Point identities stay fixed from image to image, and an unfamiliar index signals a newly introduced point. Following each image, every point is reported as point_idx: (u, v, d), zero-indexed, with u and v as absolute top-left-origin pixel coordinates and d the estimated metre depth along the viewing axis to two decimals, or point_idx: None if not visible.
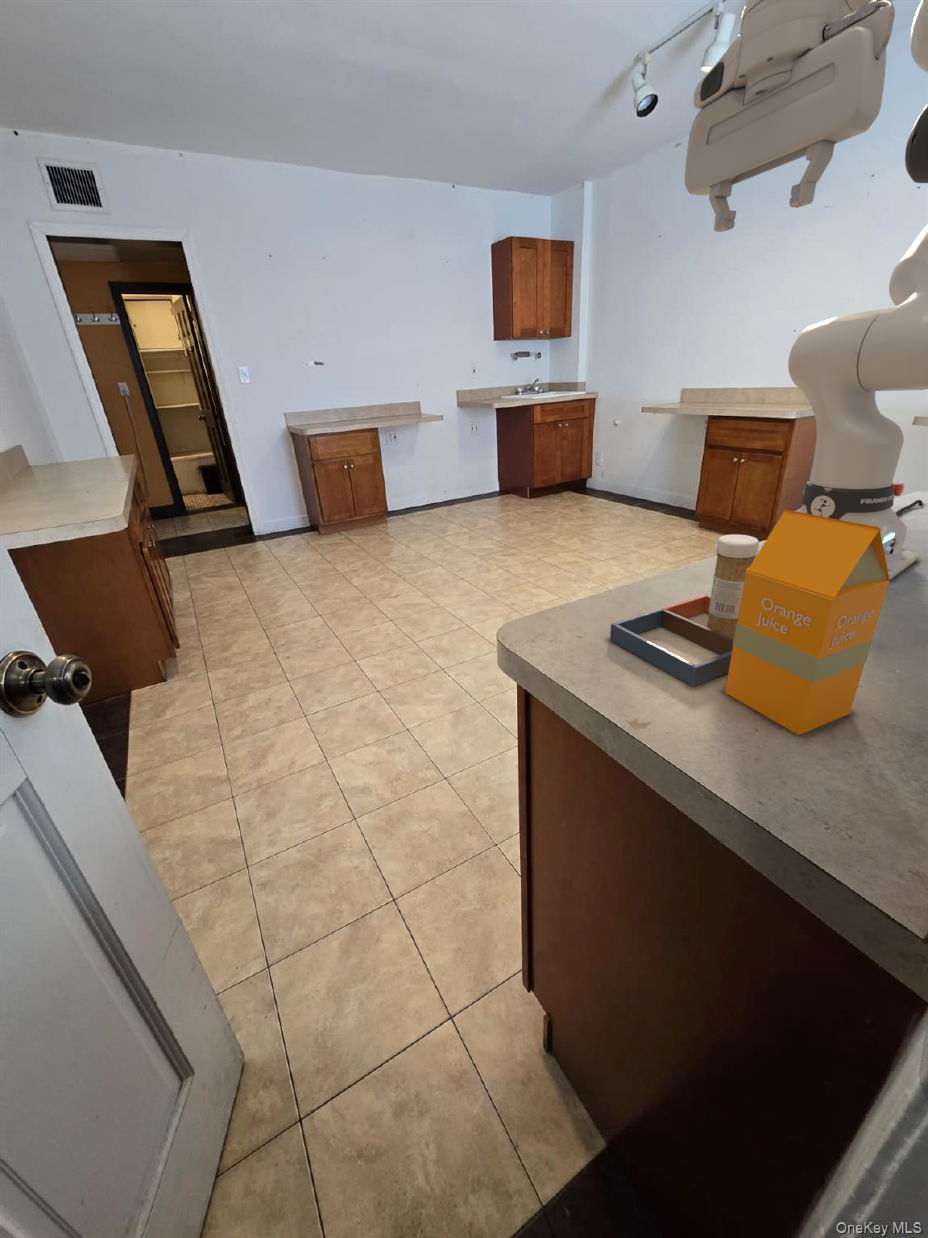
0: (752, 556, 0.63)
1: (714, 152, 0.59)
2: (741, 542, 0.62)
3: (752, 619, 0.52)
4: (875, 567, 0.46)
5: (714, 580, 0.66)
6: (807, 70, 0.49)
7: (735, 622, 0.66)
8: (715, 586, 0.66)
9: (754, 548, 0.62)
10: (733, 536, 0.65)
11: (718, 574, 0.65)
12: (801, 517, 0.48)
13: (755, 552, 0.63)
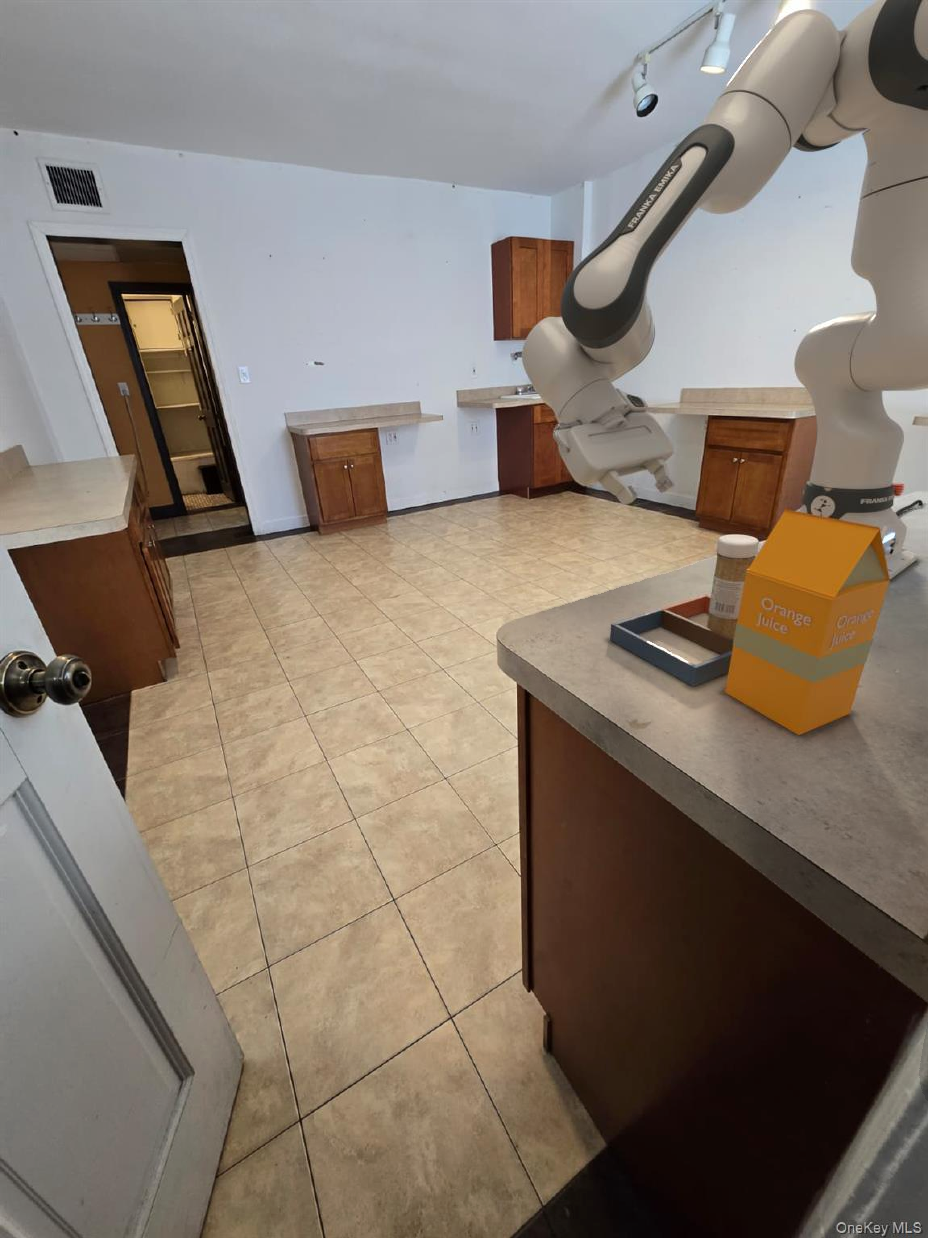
0: (752, 556, 0.63)
1: None
2: (741, 542, 0.62)
3: (752, 619, 0.52)
4: (875, 567, 0.46)
5: (714, 580, 0.66)
6: None
7: (735, 622, 0.66)
8: (715, 586, 0.66)
9: (754, 548, 0.62)
10: (733, 536, 0.65)
11: (718, 574, 0.65)
12: (801, 517, 0.48)
13: (755, 552, 0.63)
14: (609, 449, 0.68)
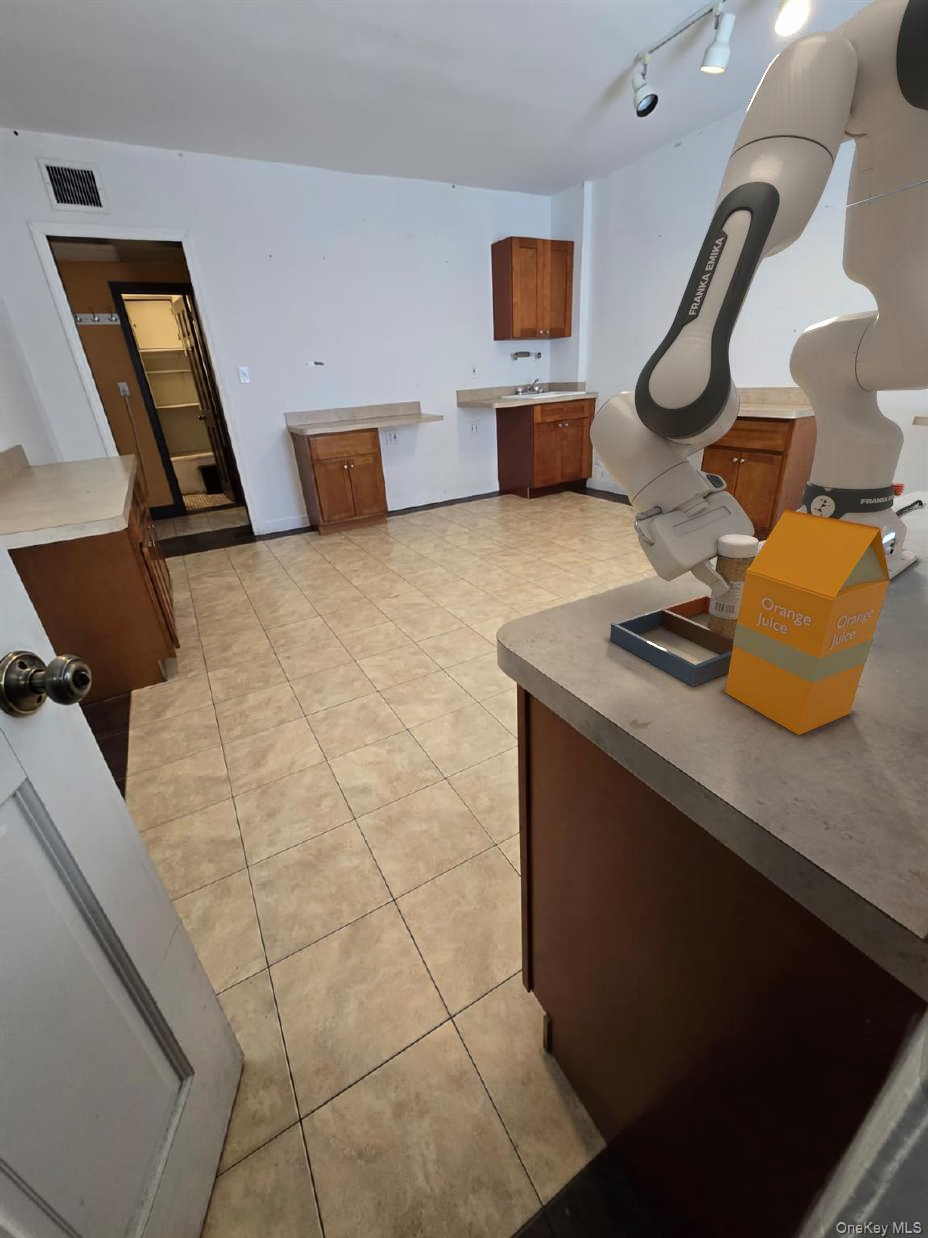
0: (752, 556, 0.63)
1: None
2: (741, 542, 0.62)
3: (752, 619, 0.52)
4: (876, 567, 0.46)
5: None
6: None
7: (735, 622, 0.66)
8: None
9: (754, 549, 0.62)
10: (733, 536, 0.65)
11: None
12: (801, 517, 0.48)
13: (755, 552, 0.63)
14: (695, 541, 0.63)
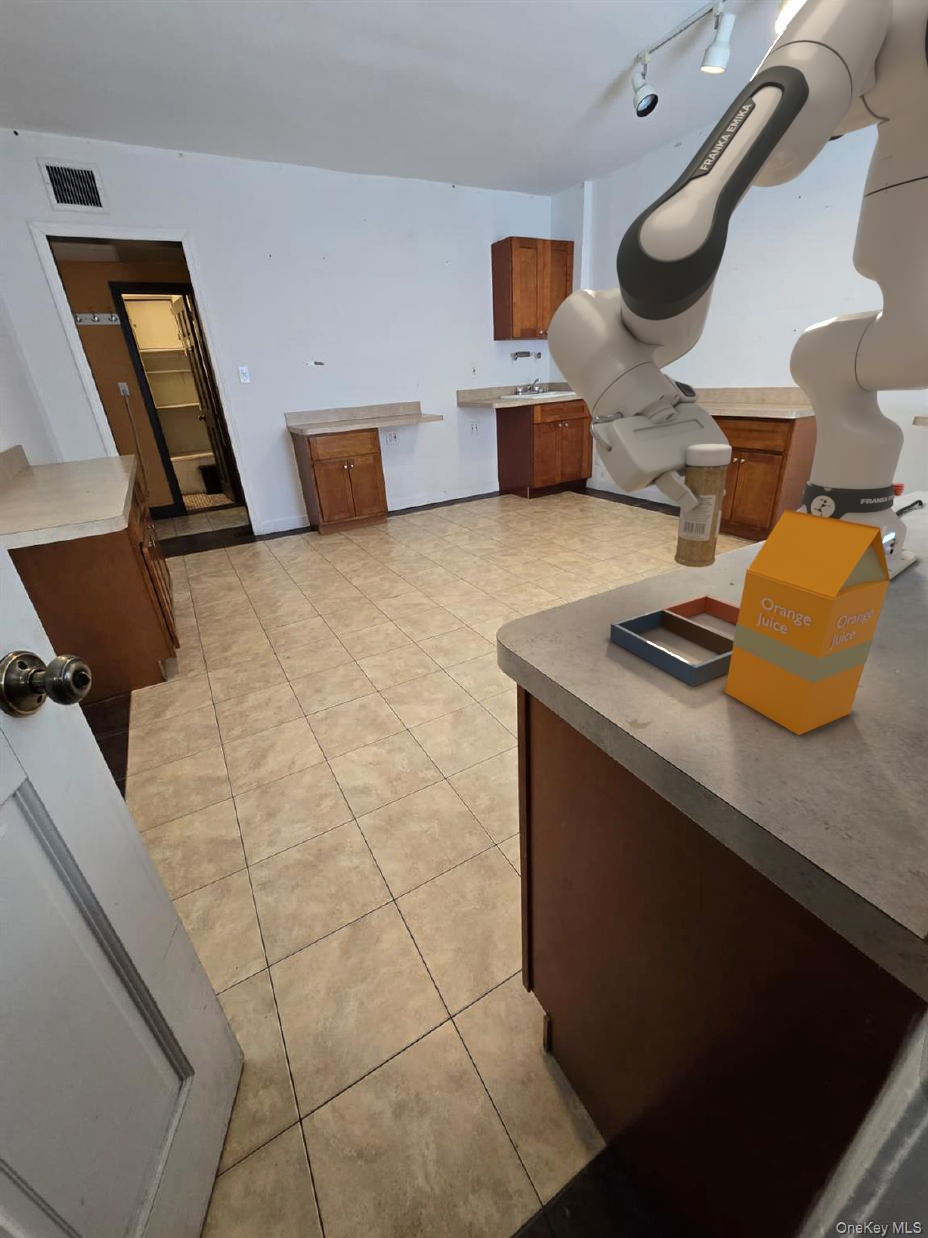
0: (724, 464, 0.55)
1: None
2: (711, 447, 0.54)
3: (752, 619, 0.52)
4: (876, 567, 0.46)
5: None
6: None
7: (706, 544, 0.59)
8: None
9: (727, 455, 0.55)
10: (703, 444, 0.57)
11: None
12: (801, 517, 0.48)
13: (727, 459, 0.55)
14: (659, 448, 0.56)
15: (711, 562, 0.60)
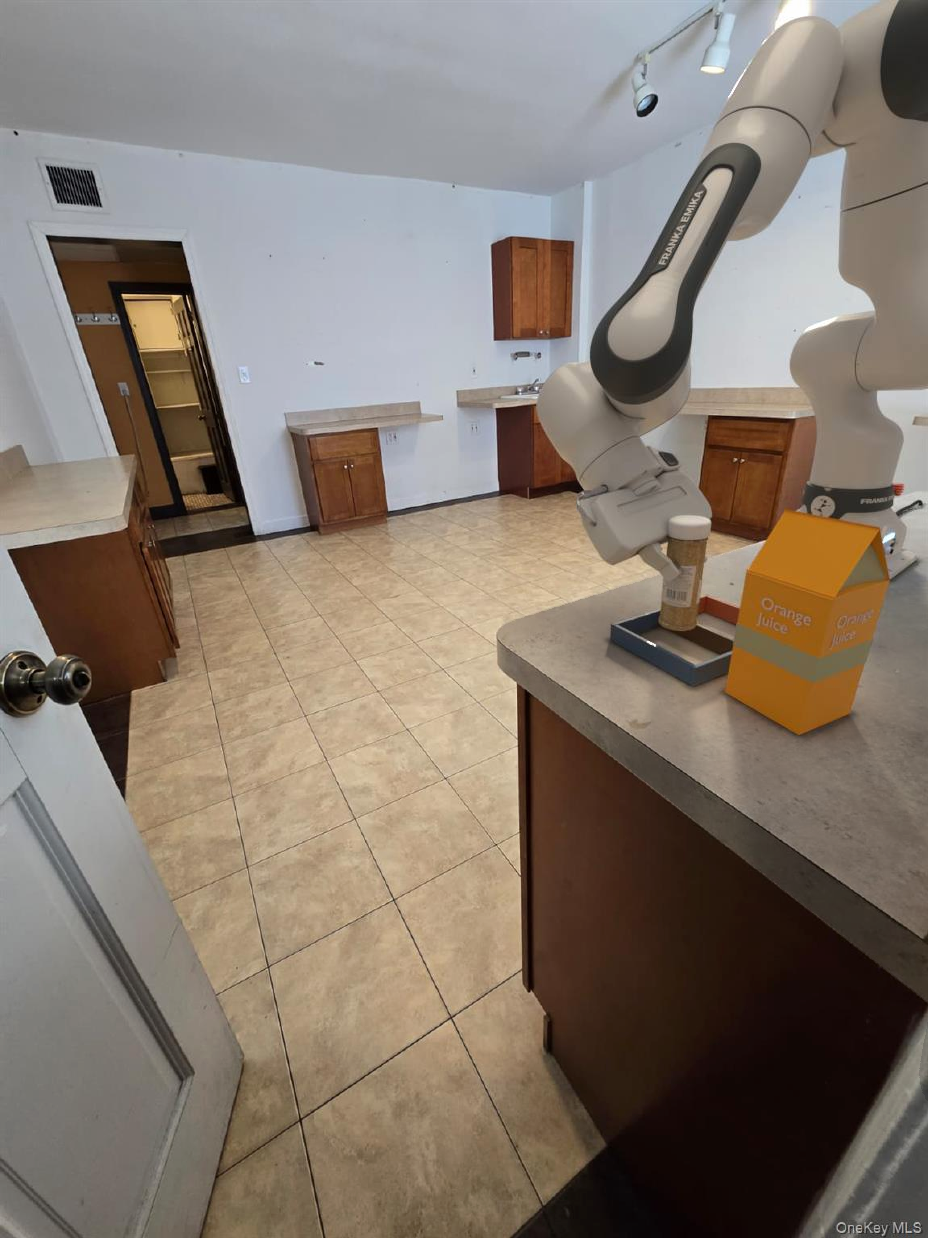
0: (704, 538, 0.58)
1: None
2: (691, 523, 0.57)
3: (752, 619, 0.52)
4: (876, 567, 0.46)
5: None
6: None
7: (688, 610, 0.61)
8: None
9: (706, 530, 0.57)
10: (685, 517, 0.60)
11: (669, 558, 0.60)
12: (801, 517, 0.48)
13: (707, 534, 0.58)
14: (642, 522, 0.58)
15: (693, 626, 0.62)
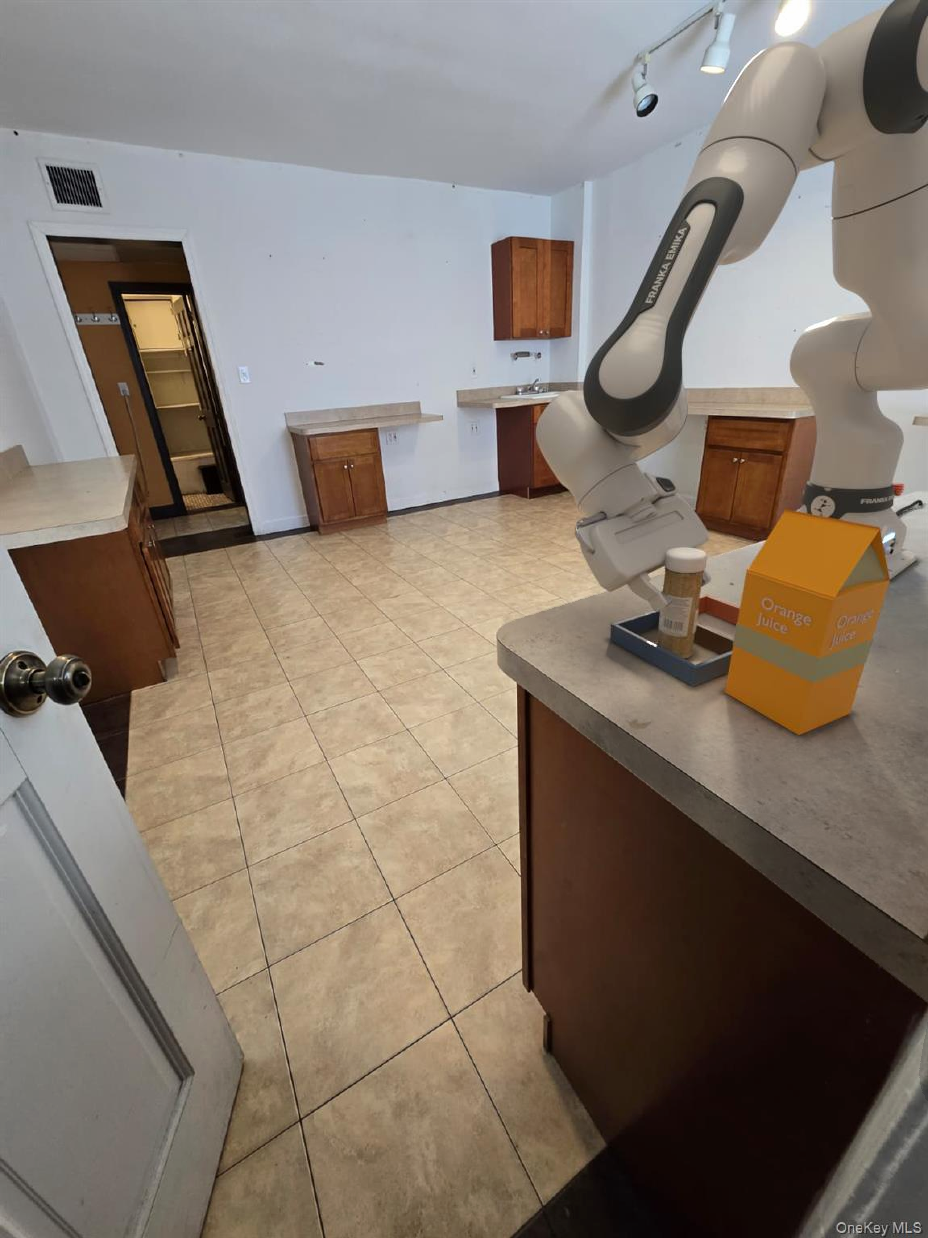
0: (699, 571, 0.59)
1: None
2: (687, 556, 0.59)
3: (752, 619, 0.52)
4: (875, 567, 0.46)
5: None
6: None
7: (684, 640, 0.63)
8: None
9: (702, 563, 0.59)
10: (681, 549, 0.61)
11: (666, 589, 0.62)
12: (801, 517, 0.48)
13: (703, 567, 0.59)
14: (639, 549, 0.60)
15: (689, 655, 0.64)
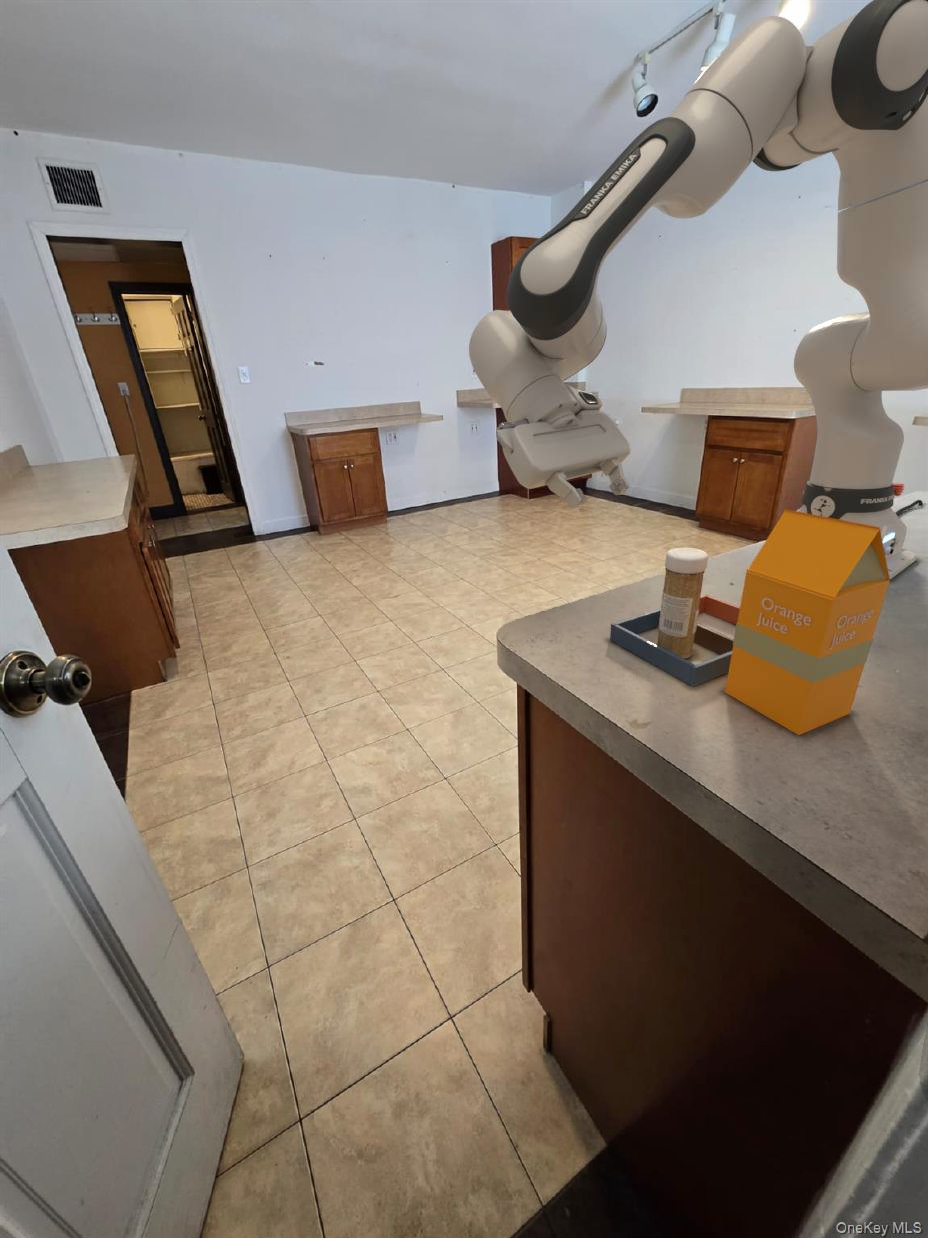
0: (700, 572, 0.59)
1: None
2: (688, 557, 0.59)
3: (752, 619, 0.52)
4: (875, 567, 0.46)
5: (663, 595, 0.63)
6: None
7: (684, 640, 0.63)
8: (664, 602, 0.62)
9: (702, 564, 0.59)
10: (682, 549, 0.61)
11: (666, 589, 0.62)
12: (801, 517, 0.48)
13: (703, 567, 0.59)
14: (556, 450, 0.64)
15: (689, 655, 0.64)
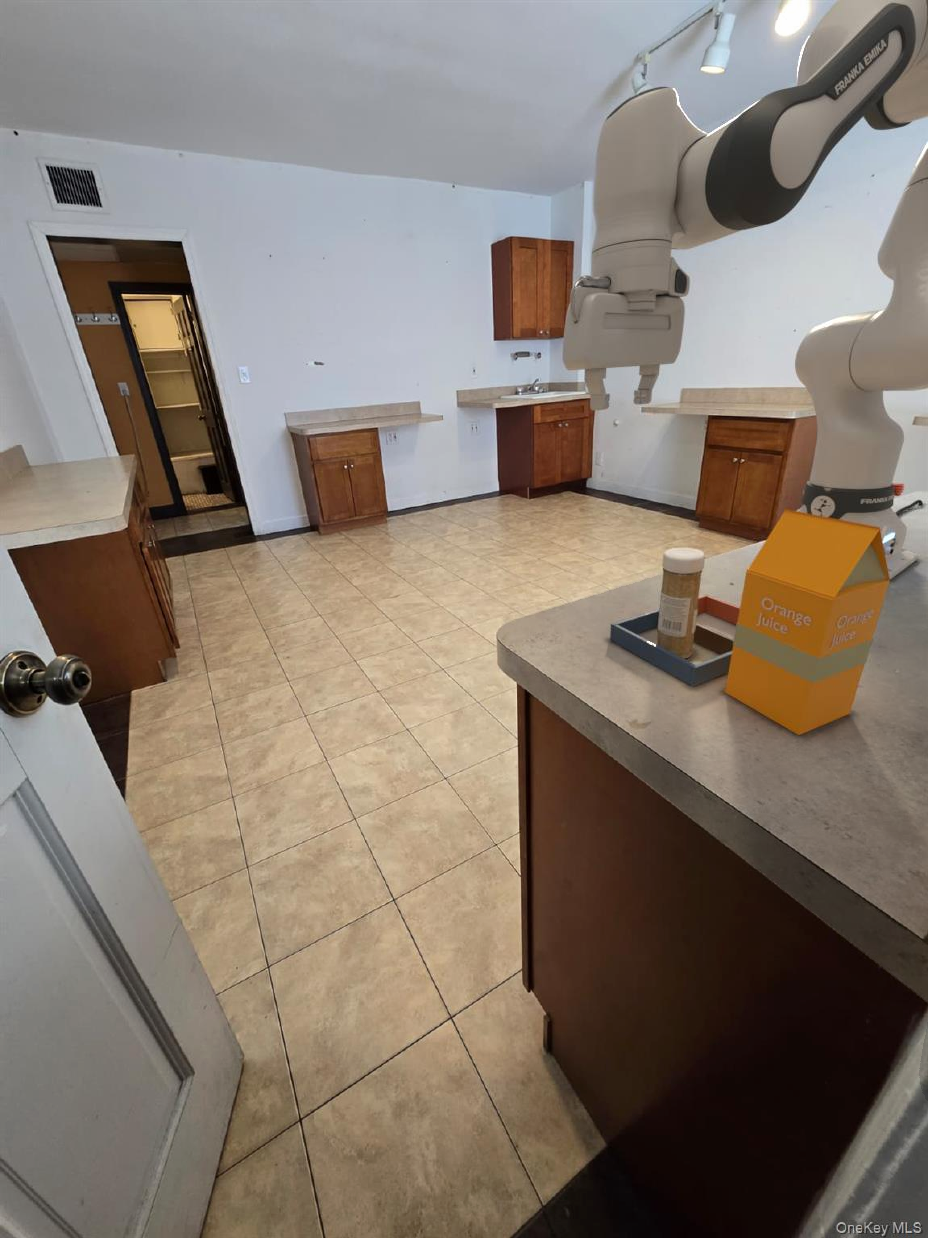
0: (697, 571, 0.59)
1: None
2: (684, 557, 0.59)
3: (752, 619, 0.52)
4: (875, 567, 0.46)
5: (661, 596, 0.63)
6: None
7: (683, 640, 0.63)
8: (662, 602, 0.63)
9: (699, 563, 0.59)
10: (679, 550, 0.61)
11: (664, 589, 0.62)
12: (801, 517, 0.48)
13: (700, 567, 0.59)
14: (615, 342, 0.59)
15: (689, 655, 0.64)
